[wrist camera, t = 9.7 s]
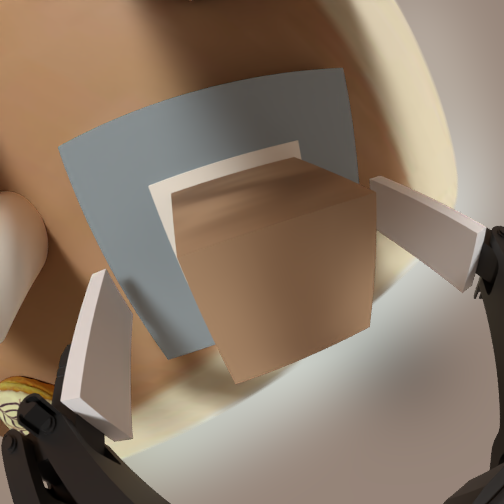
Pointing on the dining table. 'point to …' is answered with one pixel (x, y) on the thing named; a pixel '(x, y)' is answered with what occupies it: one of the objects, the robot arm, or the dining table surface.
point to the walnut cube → (277, 261)
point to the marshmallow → (18, 253)
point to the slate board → (196, 176)
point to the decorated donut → (19, 398)
